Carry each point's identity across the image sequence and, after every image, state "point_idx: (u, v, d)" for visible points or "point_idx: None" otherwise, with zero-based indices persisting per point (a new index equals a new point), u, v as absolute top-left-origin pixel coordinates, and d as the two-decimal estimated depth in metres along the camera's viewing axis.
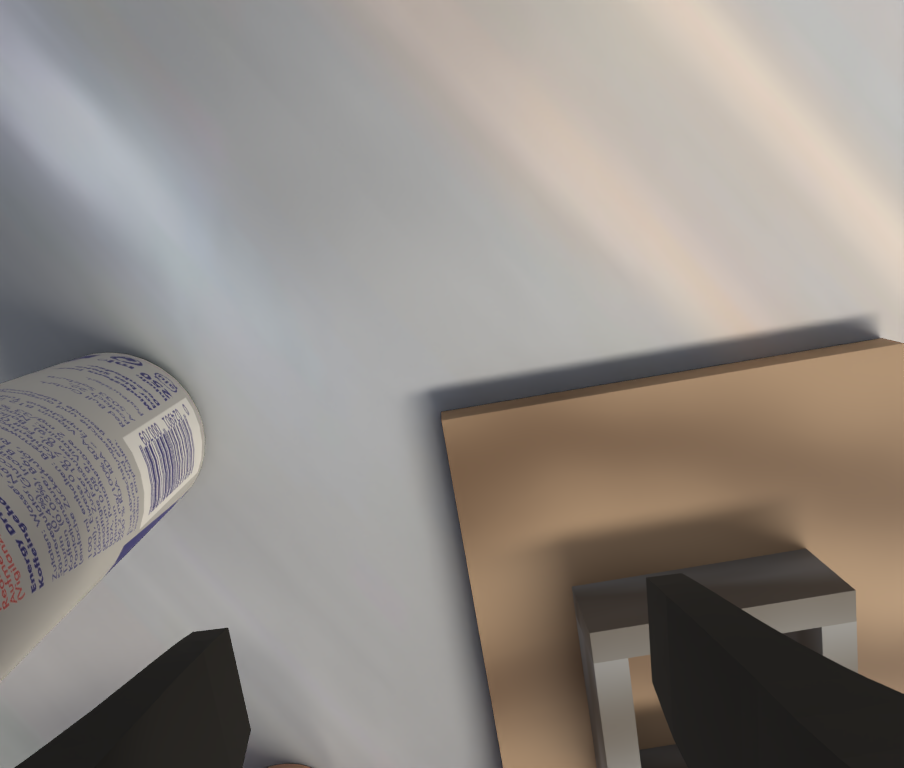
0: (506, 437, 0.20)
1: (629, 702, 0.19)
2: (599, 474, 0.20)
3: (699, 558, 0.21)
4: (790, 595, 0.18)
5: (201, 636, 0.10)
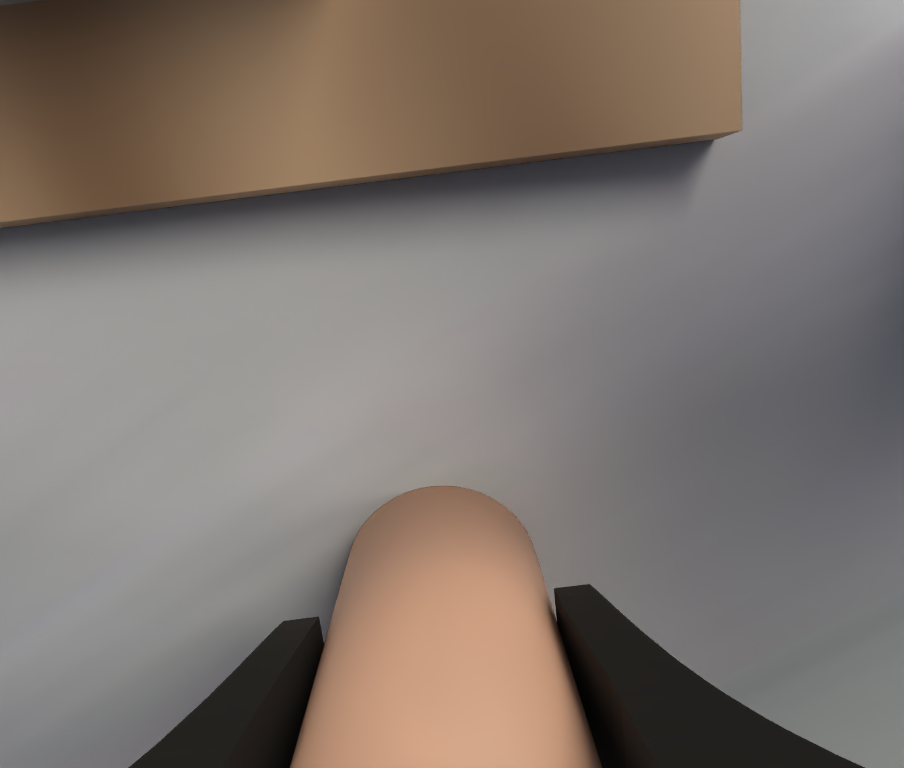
0: None
1: None
2: None
3: None
4: None
5: (295, 625, 0.10)
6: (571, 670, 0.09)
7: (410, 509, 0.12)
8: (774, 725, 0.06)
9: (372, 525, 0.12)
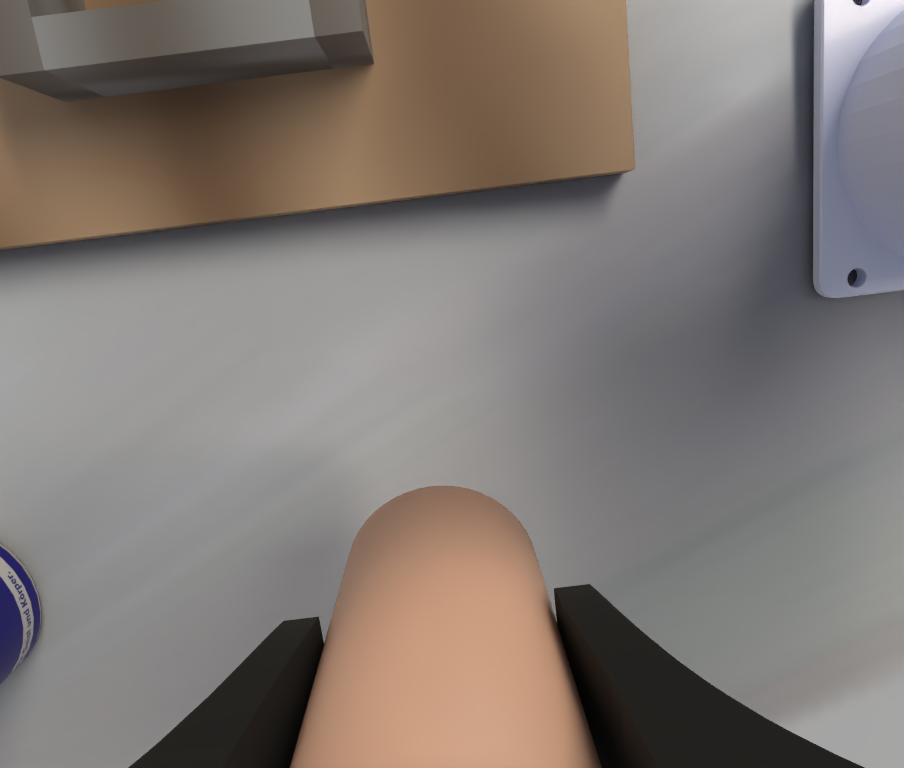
0: None
1: (106, 14, 0.13)
2: None
3: None
4: None
5: (295, 625, 0.10)
6: (571, 670, 0.09)
7: (410, 509, 0.12)
8: (773, 723, 0.06)
9: (372, 525, 0.12)
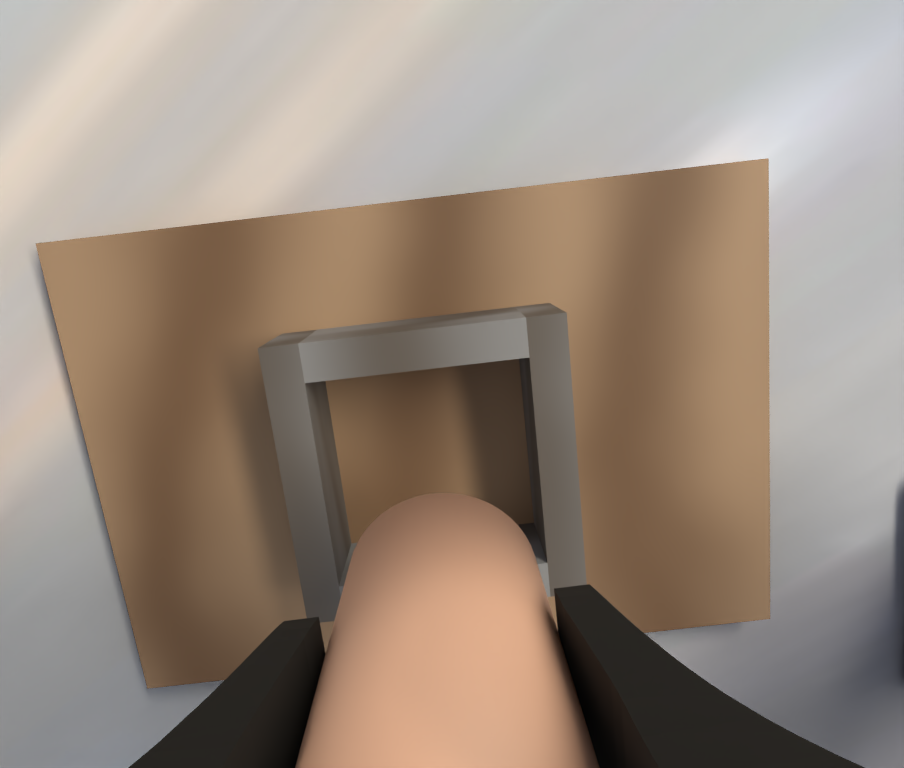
0: (161, 633, 0.20)
1: None
2: (197, 550, 0.20)
3: None
4: (272, 413, 0.16)
5: (295, 625, 0.10)
6: (569, 675, 0.09)
7: (407, 518, 0.12)
8: (773, 723, 0.06)
9: (370, 535, 0.13)
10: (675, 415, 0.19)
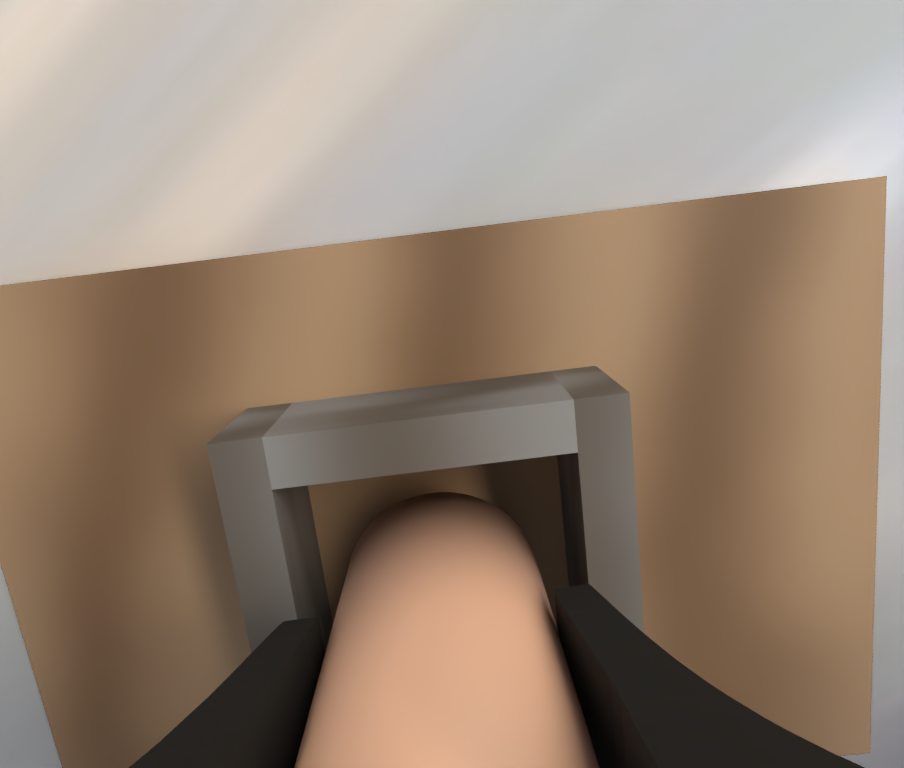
0: None
1: None
2: (145, 679, 0.15)
3: None
4: (229, 527, 0.12)
5: (295, 625, 0.10)
6: (569, 674, 0.09)
7: (406, 517, 0.12)
8: (774, 725, 0.06)
9: (370, 534, 0.13)
10: (756, 506, 0.15)
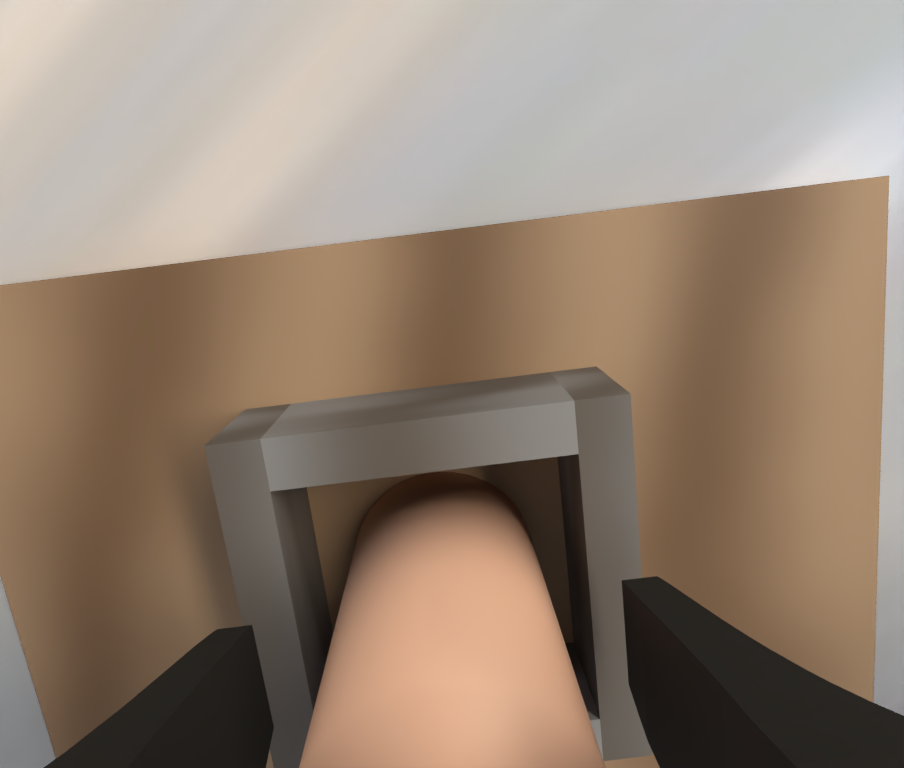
0: None
1: None
2: (142, 682, 0.15)
3: None
4: (227, 529, 0.12)
5: (226, 633, 0.10)
6: (558, 626, 0.10)
7: (411, 493, 0.13)
8: (885, 711, 0.06)
9: (377, 510, 0.14)
10: (758, 507, 0.15)
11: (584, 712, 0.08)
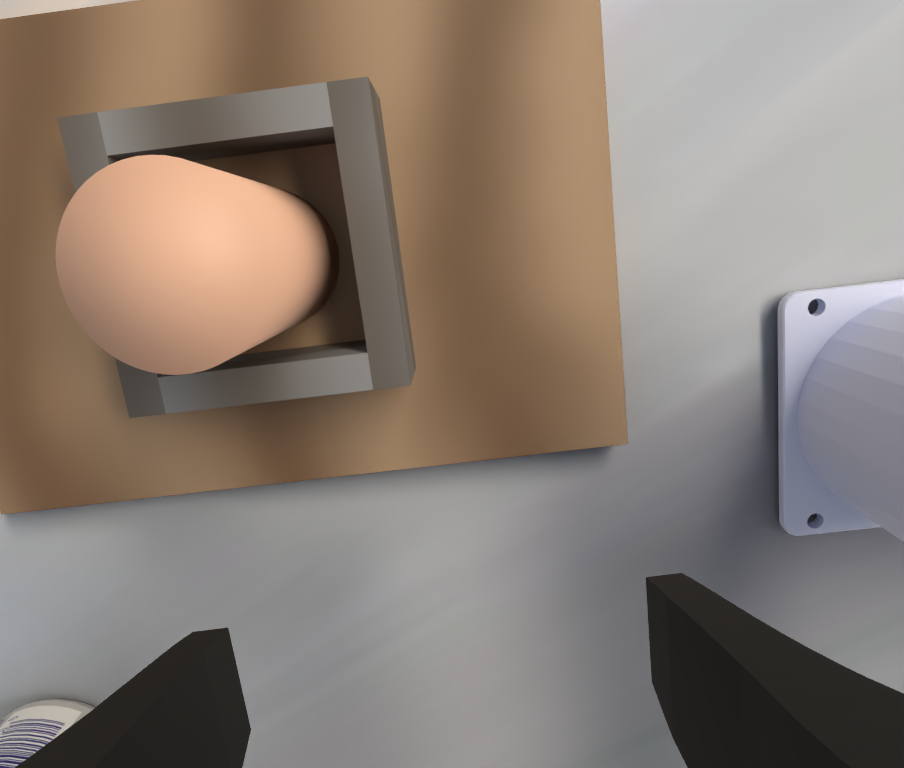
0: (11, 456, 0.20)
1: (214, 375, 0.17)
2: (42, 367, 0.19)
3: None
4: None
5: (201, 636, 0.10)
6: (297, 225, 0.14)
7: None
8: None
9: None
10: (516, 221, 0.18)
11: (267, 216, 0.12)
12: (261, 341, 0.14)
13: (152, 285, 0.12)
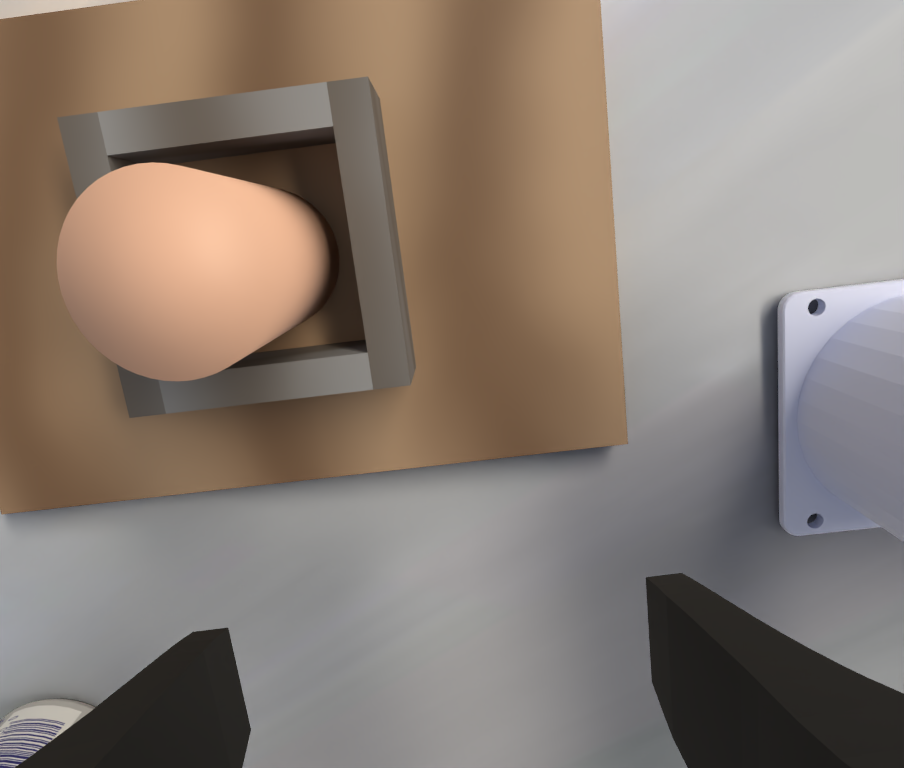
0: (11, 455, 0.20)
1: (214, 374, 0.17)
2: (42, 367, 0.19)
3: None
4: (80, 192, 0.16)
5: (201, 636, 0.10)
6: (297, 229, 0.14)
7: None
8: None
9: None
10: (516, 221, 0.18)
11: (268, 223, 0.12)
12: (261, 346, 0.14)
13: (153, 292, 0.12)
